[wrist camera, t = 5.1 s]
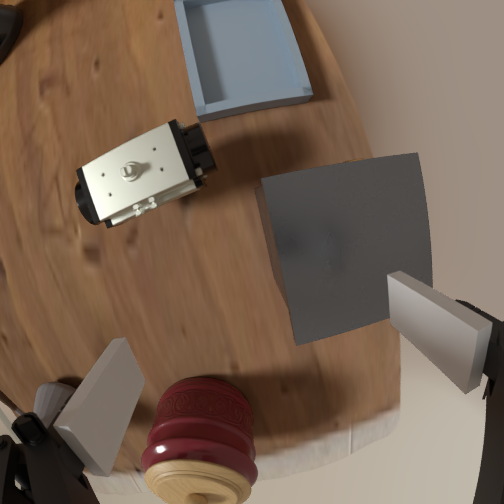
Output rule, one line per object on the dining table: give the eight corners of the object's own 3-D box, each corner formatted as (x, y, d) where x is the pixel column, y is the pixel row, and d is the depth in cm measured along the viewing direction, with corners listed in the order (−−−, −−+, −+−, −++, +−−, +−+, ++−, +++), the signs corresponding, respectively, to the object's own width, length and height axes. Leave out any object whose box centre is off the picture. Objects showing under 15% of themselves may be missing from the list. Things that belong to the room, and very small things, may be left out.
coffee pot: (115, 429, 37) (87, 496, 22) (65, 426, 37) (32, 481, 22) (57, 310, 32) (-10, 363, 18) (9, 319, 32) (-51, 361, 18)
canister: (260, 432, 38) (272, 530, 20) (178, 442, 37) (162, 533, 20) (240, 366, 35) (244, 478, 18) (146, 380, 35) (105, 479, 18)
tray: (177, 9, 26) (173, -3, 23) (270, -7, 26) (273, -19, 23) (200, 122, 29) (197, 116, 26) (307, 102, 29) (313, 94, 26)
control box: (249, 184, 31) (260, 174, 16) (343, 165, 31) (417, 149, 16) (271, 282, 33) (296, 347, 19) (359, 260, 33) (432, 302, 19)
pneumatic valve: (113, 181, 30) (55, 177, 18) (207, 138, 30) (191, 106, 18) (130, 226, 31) (77, 243, 19) (226, 185, 31) (219, 179, 19)
